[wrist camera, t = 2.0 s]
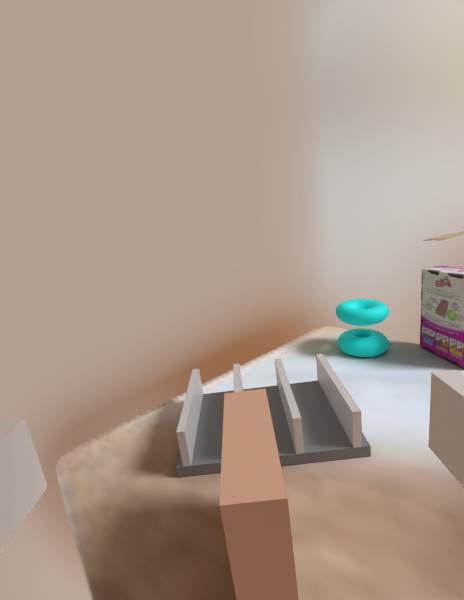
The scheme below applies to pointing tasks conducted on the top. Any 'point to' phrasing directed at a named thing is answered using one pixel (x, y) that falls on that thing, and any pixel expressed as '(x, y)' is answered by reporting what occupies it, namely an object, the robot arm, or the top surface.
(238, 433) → the terracotta tile
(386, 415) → the top surface
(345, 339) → the donuts
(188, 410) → the dish rack
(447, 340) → the candy bar box
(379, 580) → the top surface
